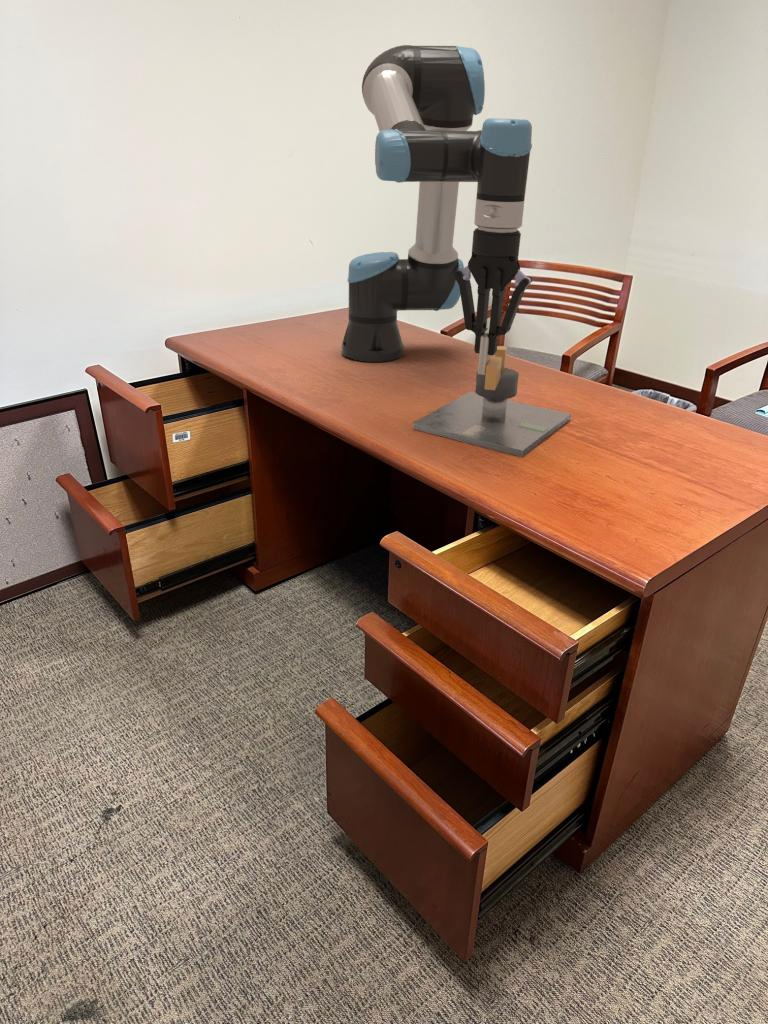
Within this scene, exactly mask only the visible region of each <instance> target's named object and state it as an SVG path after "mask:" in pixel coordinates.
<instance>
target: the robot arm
mask: <svg viewBox="0 0 768 1024" xmlns="http://www.w3.org/2000/svg"><path fill="white" fill-rule="evenodd" d="M485 84H486V83H485V72H484V65H483V62H482V58H481V55H480V54H479V52H478V51H477V50H476V49H475V48H472V47H465V46H458V45H412V44H411V45H409V44H407V45H406V44H403V45H397V46H394V47H391V48H389V49H386V50H385V51H383V52H381V53H380V54H379V55H377V56H376V57H375V58H374V59H373V60H372V61H371V62H370V63H369V65H368V66H367V69H366V70H365V72H364V74H363V77H362V82H361V93H362V97H363V98H362V99H363V101H364V104H365V106H366V108H367V110H368V111H369V112H370V113H371V114H372V115H373V116H374V119H375V123H376V124H377V128H378V130H379V132H378V133H377V135H376V138H375V145H374V146H375V148H374V161H375V162H374V163H375V164H374V165H375V173H376V176H377V178H378V179H379V180H381V181H385V182H395V183H399V184H401V183H410V182H411V183H413V182H414V183H417V182H418V183H419V187H418V201H417V214H416V215H417V216H416V227H415V228H416V229H415V230H416V231H415V244H413V245H412V246H411V247H410V248H409V249H408V250H407V251H408V252H407V253H408V254H407V258H405V259H404V258H401V259H400V257H399V255H398V253H397V252H395V251H394V252H393V251H389V252H388V251H381V252H371V253H366V254H362V255H359V256H355V257H354V258H352V260H351V261H350V262H349V265H348V275H347V283H348V322H347V323H348V324H347V327H346V330H345V333H344V336H343V340H342V342H341V355H342V354H343V355H344V356H346V357H348V358H347V359H349V358H351V359H350V360H352V359H354V360H353V361H357V360H359V361H358V362H364V361H365V362H366V363H367V362H368V363H381V362H382V363H383V362H389V361H394V360H395V361H396V360H397V359H400V358H401V357H403V356H404V343H403V340H402V339H403V338H402V337H401V336H402V335H401V332H400V329H399V326H398V311H436V312H437V311H441V310H442V311H443V310H444V311H445V310H451V309H453V308H455V306H456V305H457V303H458V302H459V301H460V300H461V307H462V315H463V319H464V321H463V322H464V325H465V329H466V330H467V331H471V332H473V333H474V335H475V337H474V347H473V348H474V349H473V351H474V353H475V354H478V355H479V356H478V365H477V371H478V374H482V375H485V374H486V366H487V364H488V362H489V361H490V359H491V357H492V356H495V353H496V351H497V346H498V341H499V336H505V335H506V334H507V333H509V332H510V330H511V328H512V327H513V323H514V320H515V318H516V315H517V313H518V310H519V307H520V304H521V301H522V298H523V297H524V294H525V291H526V289H528V287H529V286H530V285H531V283H532V282H533V278H532V277H531V276H529V275H525V273H523V272H522V271H521V265H520V263H519V262H520V261H519V254H520V253H519V252H520V244H521V232H520V230H518V229H520V228H521V227H523V218H524V207H525V206H524V205H525V197H526V190H527V184H528V183H527V181H528V172H529V164H530V157H531V152H532V148H533V144H532V135H533V133H532V131H533V125H532V123H531V121H530V120H528V119H520V118H519V119H518V118H498V117H497V118H493V117H491V118H487V119H485V120H484V121H483V123H482V128H481V129H480V130H479V129H478V130H469V129H470V128H471V127H472V126H473V120H474V116H478V115H480V114H481V113H482V112H483V109H484V105H485V97H486V95H485V90H486V87H485V86H486V85H485ZM460 183H477V186H476V187H477V188H476V198H475V211H474V222H473V224H474V225H475V226H476V227H477V228H474V230H473V232H472V233H473V235H472V245H471V246H472V247H471V256H470V259H469V260H468V262H467V265H466V266H465V265H464V263H463V260H462V259H460V258H459V253H458V251H457V250H456V249H455V248H454V245H453V244H454V234H455V225H456V215H457V214H456V213H457V206H458V196H459V184H460ZM464 266H465V267H464ZM472 277H473V279H474V281H475V283H476V285H477V305H476V309H475V302H474V298H473V291H472V283H471V278H472ZM514 279H515V280H514ZM513 280H514V286H515V288H514V290H513V292H512V295H511V298H510V300H509V302H508V305H507V308H506V312H505V314H504V316H503V320H502V313H503V305H504V298H505V297H504V296H505V293H506V287H507V286H508V285H509V284H510V283H511V282H512V281H513ZM491 289H492V291H491ZM490 293H491V297H492V299H491V308H490V319H489V326H488V314H489V304H490V303H489V301H490ZM487 326H488V327H489V329H488V327H487ZM487 331H488V332H487ZM343 355H342V356H343ZM344 356H343V357H344ZM346 357H345V358H346Z"/></svg>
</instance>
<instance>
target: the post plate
mask: <svg viewBox="0 0 768 1024" xmlns="http://www.w3.org/2000/svg"><path fill="white" fill-rule="evenodd" d="M571 415H572V414H571V413H568V412H564V411H559V410H554V409H549V408H546V407H541V406H536V405H533V404H527V403H522V402H518V401H514V400H510V399H509V400H508V399H490V398H485V397H482V396H479V395H478V394H476V392H473V391H469V392H467V393H465V394H463V395H461V396H459V397H458V398H456V399H454V400H452V401H451V402H449V403H447V404H445V405H443V406H442V407H440V408H438V409H436V410H433V411H432V412H430V413H429V414H427V415H425V416H423V417H421V418H419V419H417V420H416V421H414V422H413V424H412V429H413V430H415V431H419V432H423V433H427V434H431V435H434V436H435V435H436V436H439V437H442V438H447V439H450V440H454V441H458V442H463V443H466V444H469V445H474V446H478V447H482V448H486V449H488V450H489V449H490V450H493V451H498V452H501V453H504V454H505V453H506V454H509V455H513V456H515V457H516V456H517V457H520V458H523V457H524V456H525V455H526V454H528V453H529V452H530V451H532V450H533V449H535V448H536V447H537V446H538V445H540V444H541V443H542V442H544V441H545V440H546V439H547V438H549V437H550V436H551V435H552V434H554V433H556V431H558V430H560V428H561V427H563V426H564V425H565V424H567V423H568V422H569V421H571V418H572V417H571Z"/></svg>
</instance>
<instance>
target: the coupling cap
mask: <svg viewBox="0 0 768 1024" xmlns="http://www.w3.org/2000/svg"><path fill="white" fill-rule="evenodd" d="M507 351H508V346H503V345H502V346H501V345H500V346H499V345H497V351H496V353H495V354H494V355H493V356H492V355H491V358H490V361H489V362H488V364H487V366H486V374H485V375H482V374H478V370H477V371H476V375H475V377H476V378H475V392H474V393H476V394H478V395H479V396H482V397H485V398H490V399H507V400H508V399H509V400H510V399H512V398H514V397H516V396H517V394H518V386H519V385H518V384H519V383H518V382H519V376H520V375H519V372H518V371H516V370H514V369H512V368H509V367H506V365H507V364H506V361H507V353H508V352H507Z"/></svg>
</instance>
